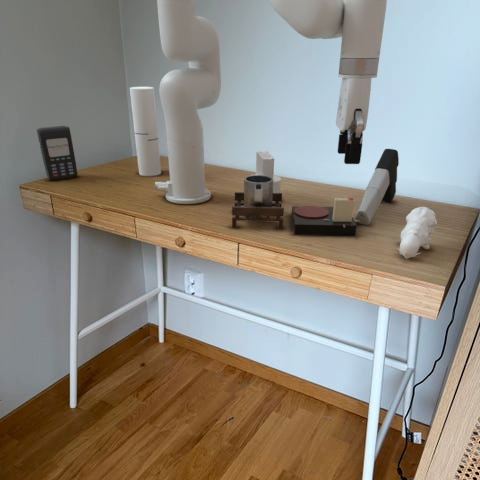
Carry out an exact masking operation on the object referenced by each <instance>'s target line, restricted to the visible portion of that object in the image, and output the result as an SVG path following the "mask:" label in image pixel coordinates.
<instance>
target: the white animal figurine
mask: <svg viewBox="0 0 480 480" xmlns="http://www.w3.org/2000/svg"><path fill="white" fill-rule="evenodd" d="M405 222H406V225H405V227H404V228H403V229H402V230H401V233H400V236H399V237H400V241H401V242H400V244H399V247H397V250H398V251H399V252H398V254H399V255H402V256H403V257H404V258H405V260H408V259H410V258H417V256H419V255H420V254H421V252H418V251H419V249H420V248H421V247H422V248H423V249H424V250H429V249H430V244H431V243H432V238H431V235H432V234H433V233H434V231H435V229H436V226H437V224H438V221H437V219H436V213H435V212H434V211H433V210H432V209H430V208H429V207H427V206H419V207H415V208H413V209H412V210H411V211H410V212H409V213H408V214H407V215H406V217H405Z"/></svg>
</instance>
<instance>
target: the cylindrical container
mask: <svg viewBox="0 0 480 480" xmlns="http://www.w3.org/2000/svg"><path fill="white" fill-rule="evenodd" d="M129 94H130V103H131V113H132V122H133V123H132V124H133V132H134V140H135V148H136V159H137V168H138V174H139V176H141V177H142V176H143V177H155V176H160V175H161V174H162V167H161V166H162V165H161V153H160V143H159V132H158V119H157V108H156V107H157V106H156V95H155V87H153V86H131V87H129Z"/></svg>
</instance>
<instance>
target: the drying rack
mask: <svg viewBox="0 0 480 480" xmlns="http://www.w3.org/2000/svg"><path fill="white" fill-rule="evenodd" d="M234 201H235V202H234V206H231V216H232V217H231V227H232V229H237V223H238V222H239V221H240V222H278V229H279V230H282V229H284V216H285V215H284V214H285V207H284V206H283V204H282V203H283V202H282V201H283V192H280V193H273V197H272V201H275V203H272V207H244V191H234ZM279 201H280V202H279ZM282 206H283V207H282ZM237 221H238V222H237Z"/></svg>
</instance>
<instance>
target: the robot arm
mask: <svg viewBox="0 0 480 480" xmlns="http://www.w3.org/2000/svg"><path fill="white" fill-rule="evenodd" d="M267 1H268V2H269V4H270V6H271V7H272V8H273V10H274V11H275V12H276V13H277V15H279V16H280V17H281V18H282V20H284V21H285V22H286V24H288V25H289V26H290V27H291V28H292V29H293V30H294V31H295V32H297V33H298V34H299V35H300V36H302V37H304V38H306V39H311V40H320V39H322V40H330V39H331V40H332V39H338V38H341V45H340V55H339V56H340V57H339V64H338V65H339V67H338V76H337V77H339V78H341V82H340V88H339V95H338V103H337V112H336V118H335V125H336V127H337V128H338V130H339V135H338V142H337V143H338V144H337V153H338V154H339V155H340V154H341V155H343V154H344V158H343V163H344V164H345V165H360V163H361V157H362V150H363V142H364V141H363V136H364V135H363V134H364V133H363V132H365V131H366V128H367V123H368V116H369V109H370V99H371V91H372V79H375V78H377V77H378V72H379V65H380V55H381V48H382V40H383V33H384V27H385V19H386V11H387V1H388V0H267ZM156 5H157V17H158V27H159V28H158V29H159V36H160V37H159V38H160V46H161V51H162V53H163V55H164V57H165V58H166V59H167V60H169V61H170V62H173V63H188V67H186V68H177V69H173V70H170V71H168V72H166V73H165V75H163V76H162V78H161V80H160V82H159V89H158V92H159V94H158V95H159V99H160V103H161V107H162V112H163V116H164V123H165V133H166V144H167V145H166V146H167V157H168V158H167V159H168V172H169V180H165V181H166V182H163V181H155V182H154V189H155V190H157V191H161V192H162V191H164V192H165V191H166V193H165V200H167V201H168V202H170V203H174V204H179V205H195V204H201V203H204V202H207V201H209V200H210V199H211V198H212V192H211V191H210V190H209V189H207V188H206V175H205V174H206V173H205V149H204V148H205V147H204V145H205V144H204V143H205V142H204V128H203V123H202V120H201V117H200V114H199V113H198V112H199V111H198V110H202V109H206V108H209V107H211V106H213V105H215V104H216V103H217V101H218V100H219V98H220V95H221V88H222V78H221V77H222V76H221V75H222V74H221V50H220V49H221V48H220V39H219V35H218V32H217V29H216V26H214V24H213V23H212V21H210V20H209V19H208V18H206V17H203V16H199V15H198V16H197V15H196V8H195V7H196V6H195V0H156Z"/></svg>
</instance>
